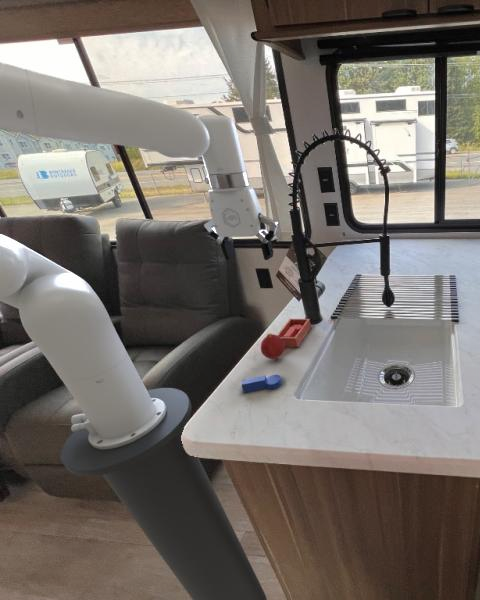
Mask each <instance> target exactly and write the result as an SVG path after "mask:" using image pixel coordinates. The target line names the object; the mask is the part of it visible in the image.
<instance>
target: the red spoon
mask: <svg viewBox="0 0 480 600" xmlns="http://www.w3.org/2000/svg"><path fill="white" fill-rule="evenodd" d="M301 328H302V325H301V324H295V325H293V326H291V327H290V329H289V330H288V331H287V332H286V334H285V335H284V336H283V337H295V336H296V335H297V333H298V332H299V331H300V329H301Z"/></svg>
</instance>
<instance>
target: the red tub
mask: <svg viewBox="0 0 480 600" xmlns="http://www.w3.org/2000/svg"><path fill="white" fill-rule="evenodd" d="M295 324H301V325H302V328H301V329H300V331H299V332H298V333H297V335H296V336H295V337H283V336H284V335H285V334H286V332H287V331H288V330H289V329H290V327H291V326H293V325H295ZM311 328H312V325H311V320H310V318H289V319H288V321H287V322H286V323H285V324H284V325H283V326H282V328H281V329H280V330H279V331H278V333H277V334H276V335H277V336H279V337H280V338H281V339H282V340H283V341H284V343H285V348H299V347H300V345H301V344H302V342H303V341H304V339H305V338H306V336H307V335H308V333H309V331H310V330H311Z"/></svg>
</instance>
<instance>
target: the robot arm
mask: <svg viewBox="0 0 480 600" xmlns="http://www.w3.org/2000/svg"><path fill="white" fill-rule="evenodd" d="M0 130H4V131H8V132H14V133H20V134H25V135H32V136H37V137H42V138H48V139H51V140H52V139H54V140H58V141H63V142H71V143H78V144H90V145H91V144H92V145H93V144H101V145H115V146H122V147H130V148H134V149H135V148H136V149H141V150H148V151H153V152H156V153H158V154H160V155H161V156H164V157H166V158H170V159H175V160H176V159H177V160H178V159H181V160H183V159H197V158H199V157H202V161H203V164H204V168H205V171H206V174H207V176H205V177H204V183H205V184H207V185H209V186H210V189H211V190H208V204H209V210H210V215H211V218H210V219H209V220H208V221H207V222H205V223H204V224H203V227H204V229H206V231H207V232H208V233H209V235H210V237H212V238H213V239H214V240H216V243H217V244H219V245H220V248H221V251H222V254H223V257H224V260H225V261H230V260H232V259H234V258H235V257H236V252H235V249H234V244H233V241H232V240H231V239H230V238H246V237H247V238H248V237H249V238H250V237H257V238H258V239H259V241H260V242H262V243H260V248H261V251H262V256H263V259H264V260H265V261H269V260H270V259H272V258H273V257H274V248H273V243H272V240H274V237H275V236H276V235H277V231H278V227H279V222H278V221H276V220H274V219H272V218H270V217H267V216H266V215H264V214H263V210H262V207H261V206H262V205H261V203H260V201H259V198H258V195H257V193H256V191H255V189H254V188H253V187H251V185H250V181H249V176H248V172H247V168H246V164H245V160H244V155H243V152H242V147H241V143H240V138H239V135H238V129H237V126H236V123H235V121H234V120H233V119H232V118H231V117H229V116H227V115H221V114H205V115H204V114H203V115H202V114H201V115H197V116H196V115H194V114H193V113H192V112H189V111H188V110H185V109H184V108H183V109H182V108H179V107H176V106H173V105H170V104H167V103H163V102H159V101H156V100H153V99H149V98H145V97H142V96H138V95H134V94H130V93H127V92H121V91H117V90H112V89H108V88H103V87H99V86H94V85H91V84H86V83H82V82H80V81H74V80H68V79H64V78H60V77H57V76H52V75H49V74H45V73H41V72H38V71H34V70H32V69H27V68H22V67H20V66H15V65H13V64H8V63H6V62H2V61H0ZM266 227H269V230H268V231H267V230H266V229H267V228H266ZM229 239H230V240H229ZM0 302H1V303H3V304H7V305H9V306H11V307H13V308H15V309H18V312H19V318H20V322H21V324H22V327H23V329H24V331H25V333H26V334H27V335H28V337H29V339H31V341H32V342H33V343H34V345H35V346H36V347H37V348H38V349H39V351H40V352H41V353H42V355H43V356H44V357H45V358H46V360H47V361H48V363H49V364H50V366H51V367H52V368H53V370H54V371H55V373H56V374H57V376H58V377H59V379H60V380H61V381H62V382H63V384H64V386H65V387H66V389H67V390H68V392H69V393H70V395H71V396H72V398H73V399H74V401H75V402H76V404H77V405H78V406H79V408H80V410H81V411H82V412H83V413H82V412H81V413H79V414H78V413H77V414H74V415H72V416H71V418H70V423H71V424H72V425H71V427H70V430H71V432H72V433H73V432H75V431H80V430H83V429H86V430H88V431H89V432H90V433H89V436H88V439H89V442H90V444H91V445H92V446H93V447H94V448H97V449H112V448H117V447H121V446H124V445H126V444H129V443H131V442H133V441H135V440H137V439H139V438H141V437H143V436H144V435H146V434H147V433H149V432H150V431H151V430H152V429H154V428H155V427H156V426H157V425H158V424H159V423H160V422H161V420H162V419H163V417H164V416H165V413H166V406H165V404H164V402H163V401H162V400H160V399H157V398H151V397H150V395H149V393H148V391H147V390H148V389H147V387H146V386H145V384H144V382H143V380H142V378H141V377H140V375H139V372H138V371H137V369H136V367H135V364H134V362H133V361H132V359H131V357H130V355H129V354H128V351H127V350H126V348H125V345H124V344H123V342H122V340H121V338H120V336H119V334H118V332H117V331H116V328H115V326H114V324H113V322H112V320H111V317H110V314H109V313H108V310H107V309H106V307H105V305H104V303H103V301H102V300H101V299H100V297H99V295H98V294H97V293H96V291H94V289H93V288H92V286H91V285H90V284H89V283H88V282H87V281H86V280H85V279H84V278H82V277H80V276H79V275H78V274H75V273H74V272H72V271H70V270H68V269H66V268H64V267H62V266H61V265H59V264H57V263H56V262H54V261H52V260H50V259H49V258H47V257H45V256H43V255H42V254H40V253H38V252H36V251H34V250H33V249H31V248H29V247H27V246H26V245H24V244H22V243H20V242H18V241H17V240H15V239H14V238H13V239H12V238H11V237H8V236H7V235H4V234H1V233H0Z"/></svg>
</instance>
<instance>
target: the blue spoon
mask: <svg viewBox="0 0 480 600" xmlns="http://www.w3.org/2000/svg"><path fill="white" fill-rule="evenodd" d="M282 384H283V381H282V377H281V376H280V375H279V374H272V375H269V376H268V377H267V376H266V375H261V376H254V377H250V378H244V379H242V381H241V388H242V391H243V393H244V394H245V393H250V392H255V391H260V390H265V389H268V390H276V389H278V388H280V387H281V386H282Z"/></svg>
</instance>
